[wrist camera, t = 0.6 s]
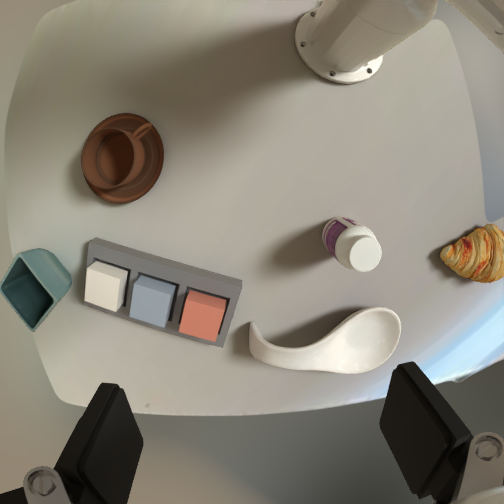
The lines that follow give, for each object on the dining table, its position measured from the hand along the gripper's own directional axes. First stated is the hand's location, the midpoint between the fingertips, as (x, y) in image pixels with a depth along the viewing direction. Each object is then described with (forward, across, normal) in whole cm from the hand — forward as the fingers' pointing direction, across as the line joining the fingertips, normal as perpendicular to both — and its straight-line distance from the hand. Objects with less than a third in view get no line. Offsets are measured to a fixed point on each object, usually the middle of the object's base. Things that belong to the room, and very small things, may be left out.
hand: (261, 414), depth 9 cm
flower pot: (+33, +31, +5) cm, 45 cm away
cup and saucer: (+33, +16, -11) cm, 38 cm away
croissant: (+32, -40, +5) cm, 52 cm away
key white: (+31, +19, +6) cm, 37 cm away
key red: (+31, +6, +10) cm, 33 cm away
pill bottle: (+32, -13, +1) cm, 35 cm away
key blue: (+31, +13, +8) cm, 34 cm away
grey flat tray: (+33, +13, +8) cm, 36 cm away
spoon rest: (+33, -12, +17) cm, 39 cm away
